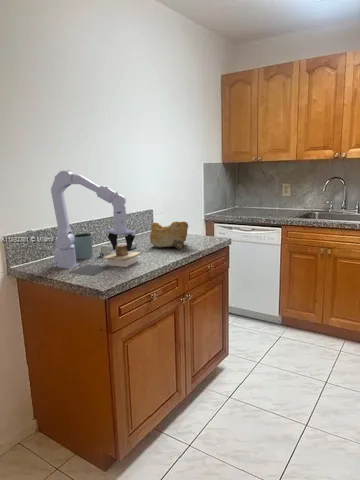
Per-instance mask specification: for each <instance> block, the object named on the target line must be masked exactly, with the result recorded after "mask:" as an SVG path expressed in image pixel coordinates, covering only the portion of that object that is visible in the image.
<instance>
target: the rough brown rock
mask: <svg viewBox="0 0 360 480" xmlns="http://www.w3.org/2000/svg"><path fill="white" fill-rule="evenodd" d="M188 229H189V223H188V222H186V221H173V222H171V224H169V225H167V226H162V225H161V224H160V223H158V222H152V223H151V227H150V233H149V242H150V244H151V245H152V246H154V247H156V248H171V247H174V248H175V249H179V250H181V249H182V248H183V246H185V242H186V240H187V237H188V236H187V235H188Z"/></svg>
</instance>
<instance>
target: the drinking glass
mask: <svg viewBox="0 0 360 480" xmlns="http://www.w3.org/2000/svg"><path fill="white" fill-rule="evenodd" d="M74 236H75V242H74V243H73V244H74V246H75V255H76V260H86V259H91V258H93V257H94V255H93V254H94V253H93V252H94V251H93V233H90V232H82V233H75V234H74Z"/></svg>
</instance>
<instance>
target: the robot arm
mask: <svg viewBox="0 0 360 480" xmlns="http://www.w3.org/2000/svg"><path fill="white" fill-rule="evenodd" d="M71 185H80V186H83V187H84V188H86V189H88V190H89V191H92V192H95V193H96V196H97V198H98V199H101V200H102V201H105V202H107V203H108V204H111V206H112V207H113V208H112V209H113V210H112V211H113V213H112V214H113V227H114V229H107V230H106V235H107V239H108V240H109V242H110V245H112V246H113V250H116V247H115V246H117V244H118V237H119V235H120V236H121V235H122V236H124V239H125V243H127V251H128V252H131V251H132V249H131V246H132V242H134V239H135V238H136V234H137V233H136V230H131V229H128V223H127V220H128V219H127V210H126V203H127V202H126V201H127V199H126V197H125V196H124V194H121V193H119V192H118V191H115V190H112V189H111V188H110V187H109V185H106V186H105V185H98V184H96V183H94V182H93V181H92V180H90V179H88V178H86V177H85V176H83V175H82V174H79V173H77V172H74V171H73V170H69V169H68V170H60V171H59V172H58V173H57V174H56V175H55V176H54V180H53V182H52V184H51V187H50V193H51V198H52V203H53V209H54V215H55V220H56V224H57V231H56V235H57V237H56V240H55V242H56V246H57V247H56V248H55V249H54V252H53V261H54V265H53V267H54V268H63V269H71V268H74V267H77V266H78V265H81V263H79V262H77V259H76V255H75V246H74V244H73V243H74V242H75V236H74V235H75V234H74V233H73V230H72V228H71V226H70V222H69V216H68V211H67V203H66V201H65V194H64V193H65V191H66V190H67V188H68V187H70V186H71ZM56 266H57V267H56Z"/></svg>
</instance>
